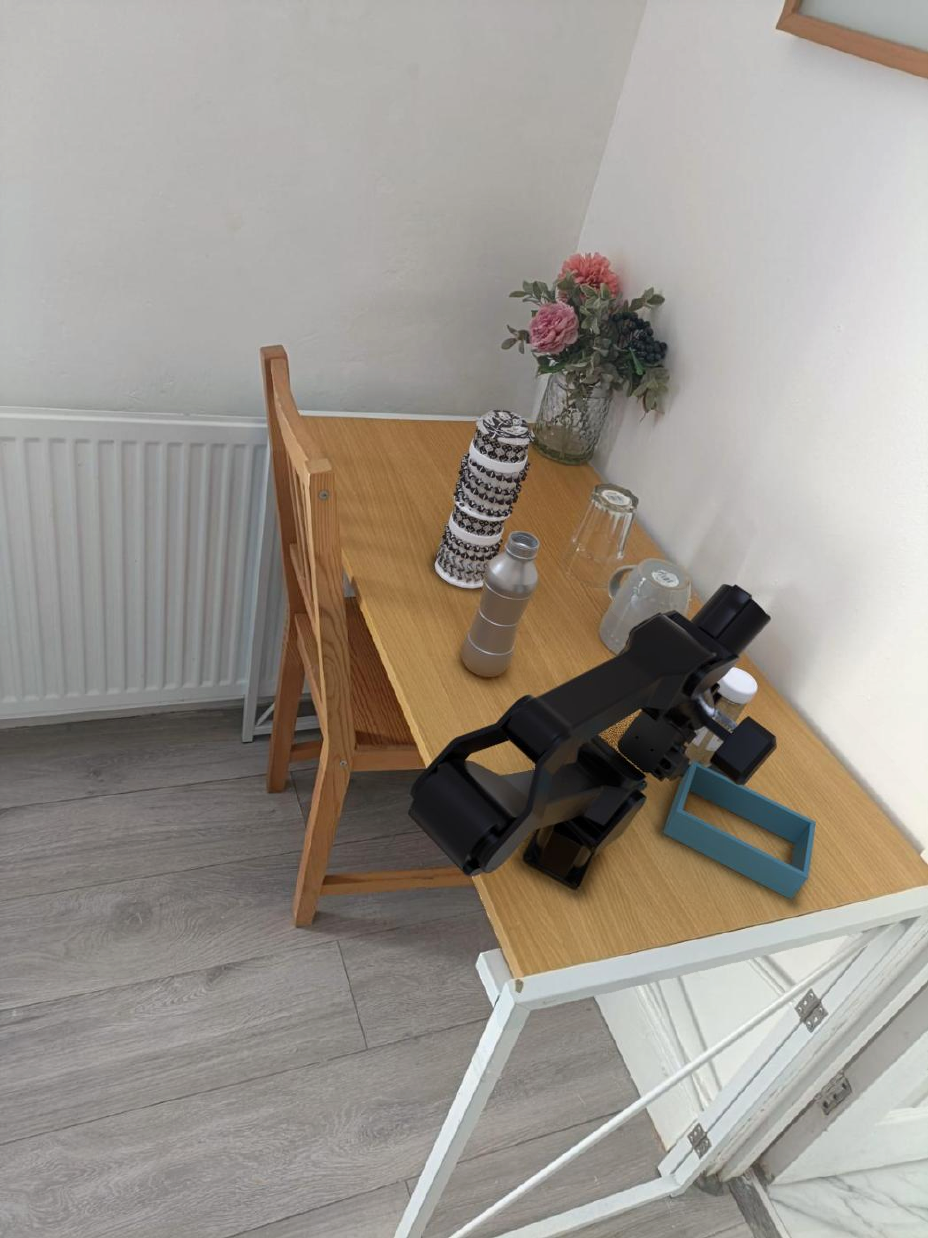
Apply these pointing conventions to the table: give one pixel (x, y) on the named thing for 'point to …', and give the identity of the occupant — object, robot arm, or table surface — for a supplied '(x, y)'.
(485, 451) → the white patterned cylinder
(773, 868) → the blue open rectangular frame
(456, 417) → the table surface
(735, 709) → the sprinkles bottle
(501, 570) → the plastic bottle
